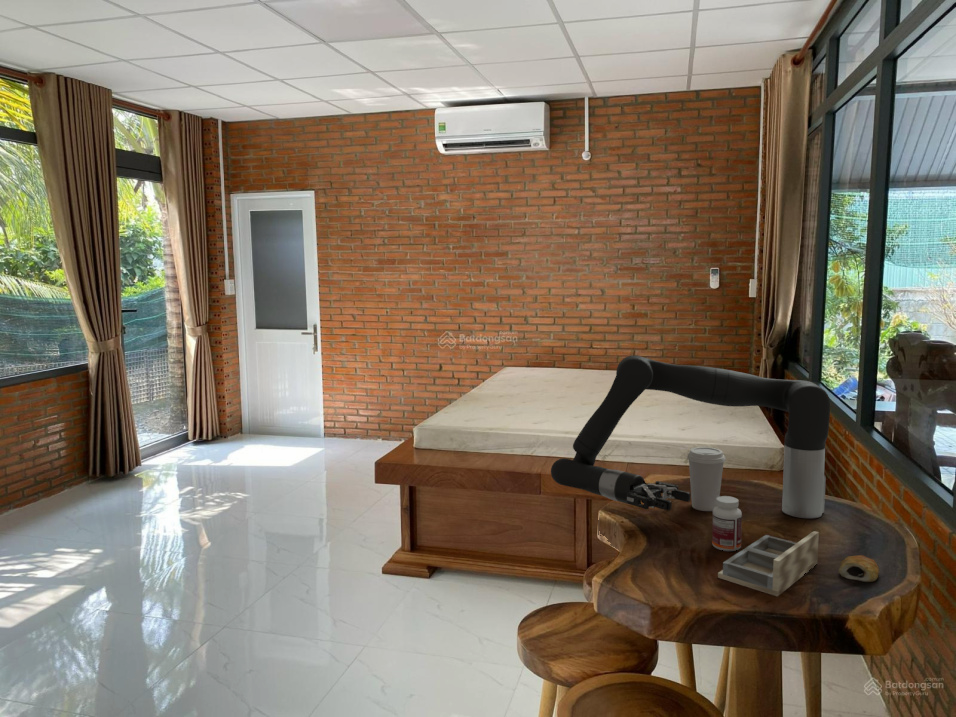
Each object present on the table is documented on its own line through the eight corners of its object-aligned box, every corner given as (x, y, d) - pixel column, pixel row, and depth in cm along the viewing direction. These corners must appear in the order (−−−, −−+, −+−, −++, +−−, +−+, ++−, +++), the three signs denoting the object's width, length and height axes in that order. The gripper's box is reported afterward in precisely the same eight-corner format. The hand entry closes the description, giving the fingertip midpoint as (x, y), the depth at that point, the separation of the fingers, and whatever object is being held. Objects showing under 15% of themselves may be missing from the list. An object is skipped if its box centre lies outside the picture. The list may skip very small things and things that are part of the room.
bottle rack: (760, 548, 156) (761, 518, 155) (817, 564, 148) (818, 532, 147) (717, 577, 142) (718, 544, 142) (777, 596, 134) (778, 561, 133)
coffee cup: (679, 508, 183) (680, 451, 181) (695, 498, 190) (696, 444, 189) (715, 515, 177) (717, 457, 175) (730, 505, 184) (731, 449, 182)
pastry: (847, 561, 149) (849, 544, 149) (884, 570, 145) (885, 552, 145) (837, 577, 142) (838, 559, 142) (874, 587, 138) (876, 568, 137)
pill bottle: (728, 539, 162) (729, 493, 160) (747, 549, 156) (748, 501, 155) (705, 543, 160) (707, 496, 158) (724, 554, 154) (725, 505, 153)
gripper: (605, 478, 171) (664, 493, 159) (638, 466, 181) (696, 479, 169) (604, 507, 172) (663, 525, 160) (637, 494, 182) (695, 509, 170)
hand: (680, 501), depth 165 cm, fingers open, 8 cm apart
